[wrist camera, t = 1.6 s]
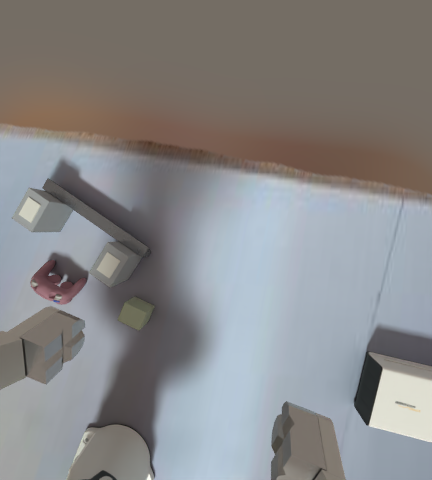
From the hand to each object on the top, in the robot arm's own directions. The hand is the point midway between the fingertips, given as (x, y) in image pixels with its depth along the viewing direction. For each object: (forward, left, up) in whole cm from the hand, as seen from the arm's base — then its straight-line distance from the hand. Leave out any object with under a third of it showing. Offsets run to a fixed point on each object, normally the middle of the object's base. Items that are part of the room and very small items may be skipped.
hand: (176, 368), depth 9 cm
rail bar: (-9, +27, -40) cm, 50 cm away
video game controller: (-25, +27, -41) cm, 55 cm away
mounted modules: (-13, +27, -40) cm, 50 cm away
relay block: (-21, +9, -40) cm, 46 cm away
